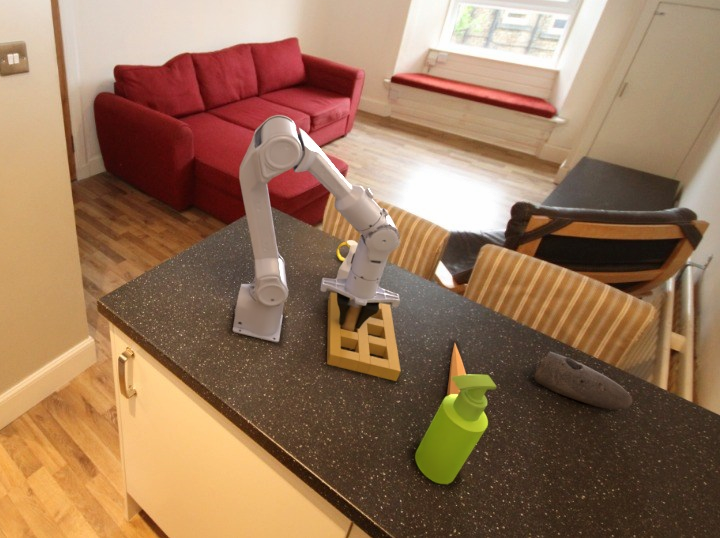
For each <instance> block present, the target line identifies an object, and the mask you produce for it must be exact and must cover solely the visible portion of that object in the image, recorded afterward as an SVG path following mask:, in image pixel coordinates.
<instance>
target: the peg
mask: <svg viewBox="0 0 720 538" xmlns="http://www.w3.org/2000/svg"><path fill="white" fill-rule="evenodd" d="M361 308H362V305H359V304H356V303H355V300H353V299H351V300H350V307H349V309H348V311H347V313H346V316H345V320H344V324H343V325H341V327H340V329H343V330H348V331H352V332H354V329H355V326H356V323H357V320H358V317H359V314H360V311H361Z"/></svg>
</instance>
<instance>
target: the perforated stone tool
mask: <svg viewBox="0 0 720 538" xmlns="http://www.w3.org/2000/svg"><path fill="white" fill-rule="evenodd" d="M535 370H536V371H535V373H534V381H535V382H536V383H537V384H539V385H540V386H543V387H544V388H546V389H548V390H549V391H552V392H554V393H556V394H559V395H561V396H564V397H566V398H569V399H572V400H575V401H578V402H581V403H583V404H586V405H590V406H593V407H597V408H601V409H606V410H615V411H616V410H617V411H618V410H625V409H628V408H629V407H631V405H633V400H634V399H633V398H632V396H631V394H630V393H629V392H628V391H627V390H626V389H625V388H624V387H623V386H621V385H620V384H619V383H618V382H616V381H615V380H613V379H611V378H609V377H608V376H606V375H604V374H603V373H601V372H599V371H596V370H595V369H593V368H591V367H589V366H587V365H585V364H583V363H582V362H578V361H576V360H575V359H573V358H570V357H567V356H564V355H561V354H558V353H555V352H553V351H549V352H547V354H546V355H545V358H544V359H540V361H539V364H538V367H535Z"/></svg>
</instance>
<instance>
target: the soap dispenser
mask: <svg viewBox="0 0 720 538" xmlns="http://www.w3.org/2000/svg"><path fill="white" fill-rule="evenodd" d="M451 378H452V379H453V381H454V383H455V384H456V386H457V387H458V389H459V390H461V391H460V392H459V394H458V395H457V394H452V395H448V396H447V395H446V396H445V397H444V398H443V400H442V402H441V404H440V405H439V407H438V408H437V411H436V412H435V415H434V417H433V419H432V421H431V422H430V424H429V426H428V427H427V430H426V432H425V434H424V436H423V438H422V439H421V441H420V444H419V446H418V447H417V449H416V450H415V453H414V459H415V463H416V465H417V467H418V469H419V471H420V472H421V473H422V474H423V475H424V476H425V477H426V478H428V479H429V480H431V481H432V482H434V483H436V484H440V485H448V484H451V483H453V481H454V480H455V479H456V477H457V476H458V474H459V473H460V471H461V469H462V467H463V466H464V464H465V463H466V462H467V460H468V459H469V456H470V454H471V453H472V451H474V449H475V447H476V445H477V444H478V442H479V441H480V439H481V437H483V436H482V435H483V434H484V433H485V431H486V430H487V428H488V425H489V420H488V417H487V415H486V413H485V409H486V408H487V406H488V399H487V397H486V395H485V394H486V392H487V391H488V390H496V389H497V387H498V386H497V385H496V384H495V382H494V381H493V379H492V377H490V375H489V374H479V373H478V374H474V373H473V374H472V373H471V374H466V375H459V376H454V377H451Z"/></svg>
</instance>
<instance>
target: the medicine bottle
mask: <svg viewBox="0 0 720 538" xmlns="http://www.w3.org/2000/svg"><path fill="white" fill-rule="evenodd" d="M357 245H358V242H357V243H356V244H353V245H351V247H349V250H348V253H347V255H346V257H344V258H345V260H344V261H342V263H341V264H340V266H339V268H338V271H337V274H336V278H335V279H347V278H348V274H349V271H350V268H351V265H352V261H353V258H354V255H355V251H356V248H357ZM334 293H337V292H334Z"/></svg>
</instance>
